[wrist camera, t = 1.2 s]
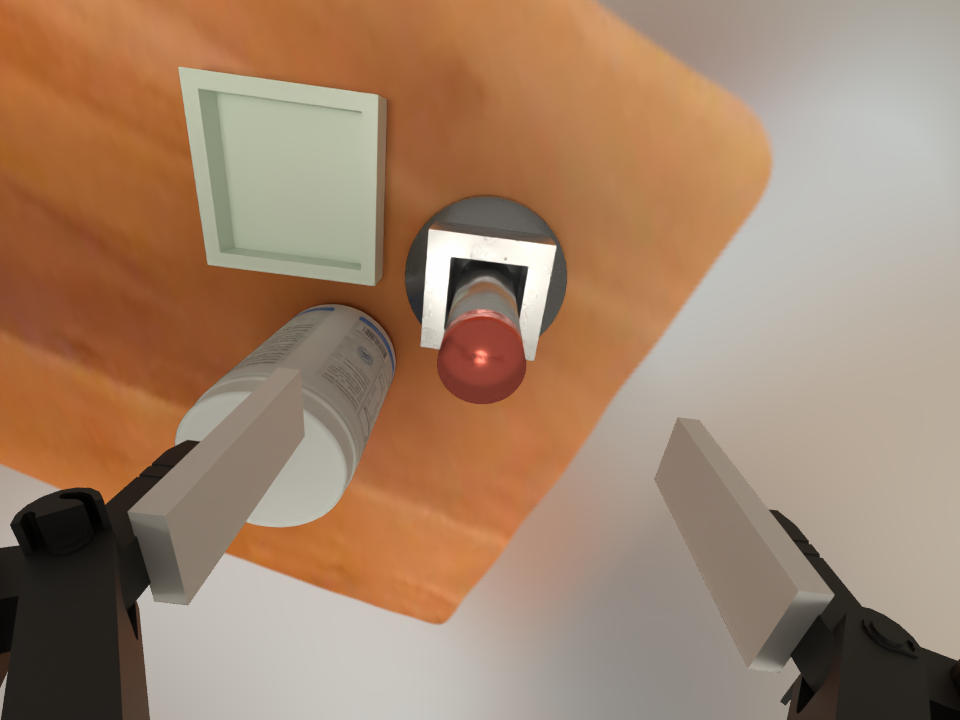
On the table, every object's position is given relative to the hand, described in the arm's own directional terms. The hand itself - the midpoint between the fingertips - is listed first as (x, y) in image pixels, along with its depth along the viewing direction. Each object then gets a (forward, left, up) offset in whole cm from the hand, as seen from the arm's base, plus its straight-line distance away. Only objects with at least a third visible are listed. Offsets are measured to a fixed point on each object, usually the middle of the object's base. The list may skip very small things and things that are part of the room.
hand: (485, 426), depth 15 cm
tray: (-14, +5, -20) cm, 25 cm away
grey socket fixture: (0, 0, -20) cm, 20 cm away
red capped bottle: (0, 0, -19) cm, 19 cm away
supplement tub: (-11, -8, -20) cm, 25 cm away
